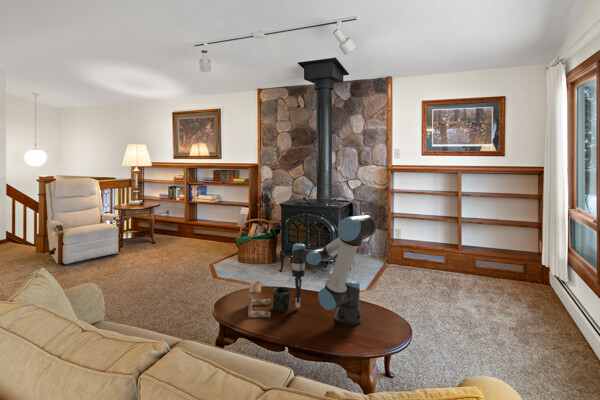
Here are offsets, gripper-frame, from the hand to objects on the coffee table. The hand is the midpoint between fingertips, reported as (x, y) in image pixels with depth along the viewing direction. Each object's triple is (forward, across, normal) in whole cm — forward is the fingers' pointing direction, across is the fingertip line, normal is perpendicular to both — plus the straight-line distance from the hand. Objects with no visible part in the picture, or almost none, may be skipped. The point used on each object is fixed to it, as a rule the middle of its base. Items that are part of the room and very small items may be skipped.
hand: (297, 306), depth 218 cm
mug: (+2, 0, -10) cm, 10 cm away
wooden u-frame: (+2, 0, -24) cm, 24 cm away
